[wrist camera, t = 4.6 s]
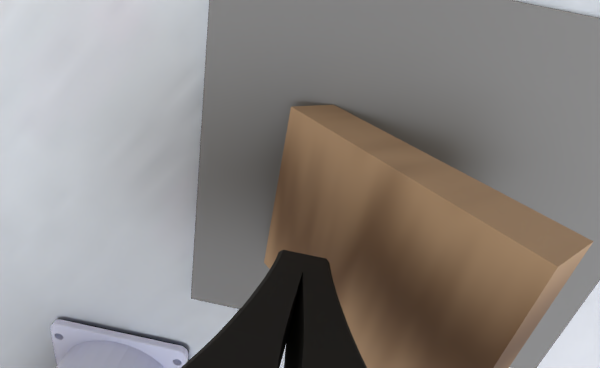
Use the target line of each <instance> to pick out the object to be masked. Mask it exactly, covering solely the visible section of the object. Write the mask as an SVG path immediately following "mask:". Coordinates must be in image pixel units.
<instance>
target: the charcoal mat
mask: <svg viewBox="0 0 600 368" xmlns="http://www.w3.org/2000/svg"><path fill="white" fill-rule="evenodd" d="M314 105H335V106H337V107H339V108H341V109H343V110H345V111H347V112H349V113H351V114H353V115H354V116H356V117H358V118H360V119H362V120H364V121H366V122H368V123H370V124H372V125H373V126H375V127H377V128H379V129H381V130H383V131H385V132H387V133H389V134H391V135H392V136H394V137H396V138H398V139H400V140H402V141H404V142H406V143H408V144H409V145H411V146H413V147H415V148H417V149H419V150H421V151H423V152H425V153H427V154H428V155H430V156H432V157H434V158H436V159H438V160H440V161H442V162H444V163H446V164H447V165H449V166H451V167H453V168H455V169H457V170H459V171H461V172H463V173H465V174H466V175H468V176H470V177H472V178H474V179H476V180H478V181H480V182H482V183H484V184H485V185H487V186H489V187H491V188H493V189H495V190H497V191H499V192H501V193H503V194H504V195H506V196H508V197H510V198H512V199H514V200H516V201H518V202H520V203H522V204H523V205H525V206H527V207H529V208H531V209H533V210H535V211H537V212H539V213H541V214H542V215H544V216H546V217H548V218H550V219H552V220H554V221H556V222H558V223H559V224H561V225H563V226H565V227H567V228H569V229H571V230H573V231H575V232H577V233H578V234H580V235H582V236H584V237H586V238H588V239H590V240H592V241H594V242H593V243H592V244H591V246H590V247H589V249H588V250H587V252H586V253H585V255H584V256H583V258H582V259H581V261H580V262H579V264H578V265H577V267H576V268H575V270H574V271H573V273H572V274H571V276H570V277H569V279H568V280H567V282H566V283H565V285H564V286H563V288H562V289H561V291H560V292H559V294H558V295H557V297H556V298H555V300H554V301H553V303H552V304H551V306H550V307H549V309H548V310H547V311H546V313H545V314H544V316H543V317H542V319H541V320H540V322H539V323H538V325H537V326H536V328H535V329H534V331H533V332H532V334H531V335H530V337H529V338H528V340H527V341H526V343H525V344H524V346H523V347H522V349H521V350H520V352H519V353H518V355H517V356H516V358H515V359H514V361H513V362H512V364H511V365H510V368H537V366H538V365H539V363H540V362H541V361H542V359H543V358H544V356H545V355H546V354H547V352H548V351H549V350H550V348H551V347H552V345H553V344H554V343H555V341H556V340H557V338H558V337H559V336H560V334H561V333H562V332H563V330H564V329H565V327H566V326H567V325H568V323H569V322H570V321H571V319H572V318H573V316H574V315H575V314H576V312H577V311H578V309H579V308H580V307H581V305H582V304H583V303H584V301H585V300H586V298H587V297H588V296H589V294H590V293H591V292H592V290H593V289H594V287H595V286H596V285H597V283H598V282H599V280H600V18H596V17H591V16H586V15H581V14H576V13H571V12H566V11H562V10H557V9H552V8H547V7H542V6H537V5H532V4H527V3H522V2H518V1H513V0H209V13H208V29H207V45H206V61H205V78H204V94H203V110H202V126H201V142H200V158H199V174H198V191H197V207H196V223H195V239H194V255H193V271H192V288H191V299H196V300H200V301H205V302H209V303H214V304H219V305H223V306H228V307H233V308H237V309H240V308H241V307H242V306H243V305H244V304H245V303H246V301H247V300H248V299H249V298H250V296H251V295H252V294H253V292H254V291H255V290H256V288H257V287H258V286H259V284H260V283H261V282H262V280H263V279H264V277H265V276H266V274H267V273H268V271H269V270H270V269H269V268H268V267H267V265H266V264H265V263H264V259H265V254H266V248H267V242H268V236H269V230H270V225H271V219H272V213H273V207H274V202H275V196H276V190H277V184H278V179H279V173H280V167H281V161H282V156H283V150H284V144H285V138H286V133H287V127H288V121H289V115H290V110H291V107H292V106H314Z"/></svg>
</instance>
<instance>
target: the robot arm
mask: <svg viewBox="0 0 600 368" xmlns="http://www.w3.org/2000/svg"><path fill="white" fill-rule="evenodd" d="M50 330H51V336H52V341H53V347H54V352H55V358H56V363H57V367H56V368H279V367H280V363H281V359H282V356H283V352H284V349H285V345H286V352H285V364H284V368H367V367H366V365H365V363H364V360H363V358H362V356H361V354H360V352H359V350H358V347H357V345H356V343H355V341H354V338H353V336H352V334H351V331H350V329H349V326H348V324H347V321H346V318H345V315H344V313H343V310H342V307H341V305H340V302H339V299H338V295H337V292H336V289H335V285H334V282H333V278H332V274H331V269H330V263H329V261H328V260H327V259H326V258H321V257H316V256H312V255H307V254H302V253H297V252H293V251H288V250H281V251H280V252H278V255H277V257H276V259H275V261H274V263H273V265H272V267H271V268H270V270H269V271H268V273H267V274H266V276H265V277H264V279H263V280H262V282H261V283H260V284H259V286H258V287H257V288H256V290H255V291H254V292H253V294H252V295H251V296H250V298H249V299H248V300H247V301H246V303H245V304H244V305H243V306H242V307H241V308H240V310H239V311H238V312H237V313H236V314H235V315H234V316H233V318H232V319H231V320H230V321H229V322H228V323H227V324H226V325H225V326H224V327H223V329H222V330H221V331H220V332H219V333H218V334H217V335H216V336H215V337H214V338H213V339H212V340H211V341H210V342H209V343H208V344H207V345H205V346H204V347H203V348H202V349H201V350H200V351H199V352H198V353H197V354H196V355H195V356H194V357H192V358H191V359H190V360H189V361H188V351H187V349H186V348H185V347H183V346H180V345H176V344H171V343H166V342H162V341H157V340H153V339H148V338H143V337H139V336H134V335H130V334H125V333H120V332H116V331H111V330H107V329H102V328H97V327H93V326H88V325H84V324H79V323H74V322H70V321H65V320H55V321H54V322H53V323H52V325H51V326H50Z"/></svg>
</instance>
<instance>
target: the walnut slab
mask: <svg viewBox="0 0 600 368" xmlns="http://www.w3.org/2000/svg"><path fill="white" fill-rule="evenodd" d="M593 242H594V241H592V240H590V239H588V238H586V237H584V236H582V235H580V234H578V233H577V232H575V231H573V230H571V229H569V228H567V227H565V226H563V225H561V224H559V223H558V222H556V221H554V220H552V219H550V218H548V217H546V216H544V215H542V214H541V213H539V212H537V211H535V210H533V209H531V208H529V207H527V206H525V205H523V204H522V203H520V202H518V201H516V200H514V199H512V198H510V197H508V196H506V195H504V194H503V193H501V192H499V191H497V190H495V189H493V188H491V187H489V186H487V185H485V184H484V183H482V182H480V181H478V180H476V179H474V178H472V177H470V176H468V175H466V174H465V173H463V172H461V171H459V170H457V169H455V168H453V167H451V166H449V165H447V164H446V163H444V162H442V161H440V160H438V159H436V158H434V157H432V156H430V155H428V154H427V153H425V152H423V151H421V150H419V149H417V148H415V147H413V146H411V145H409V144H408V143H406V142H404V141H402V140H400V139H398V138H396V137H394V136H392V135H391V134H389V133H387V132H385V131H383V130H381V129H379V128H377V127H375V126H373V125H372V124H370V123H368V122H366V121H364V120H362V119H360V118H358V117H356V116H354V115H353V114H351V113H349V112H347V111H345V110H343V109H341V108H339V107H337V106H335V105H314V106H292V107H291V110H290V115H289V121H288V127H287V133H286V138H285V144H284V150H283V156H282V161H281V167H280V173H279V179H278V184H277V190H276V196H275V202H274V207H273V213H272V219H271V225H270V230H269V236H268V242H267V248H266V254H265V259H264V263H265V264H266V265H267V267H268V268H269V269H270V268H271V267H272V265H273V263H274V261H275V259H276V257H277V255H278V252H280V251H281V250H288V251H293V252H297V253H302V254H307V255H312V256H316V257H321V258H326V259H327V260H328V261H329V263H330V269H331V274H332V278H333V282H334V285H335V289H336V292H337V295H338V299H339V302H340V305H341V307H342V310H343V313H344V315H345V318H346V321H347V324H348V326H349V329H350V331H351V334H352V336H353V338H354V341H355V343H356V345H357V347H358V350H359V352H360V354H361V356H362V358H363V360H364V363H365V365H366V367H367V368H509V367H510V365H511V364H512V362H513V361H514V359H515V358H516V356H517V355H518V353H519V352H520V350H521V349H522V347H523V346H524V344H525V343H526V341H527V340H528V338H529V337H530V335H531V334H532V332H533V331H534V329H535V328H536V326H537V325H538V323H539V322H540V320H541V319H542V317H543V316H544V314H545V313H546V311H547V310H548V309H549V307H550V306H551V304H552V303H553V301H554V300H555V298H556V297H557V295H558V294H559V292H560V291H561V289H562V288H563V286H564V285H565V283H566V282H567V280H568V279H569V277H570V276H571V274H572V273H573V271H574V270H575V268H576V267H577V265H578V264H579V262H580V261H581V259H582V258H583V256H584V255H585V253H586V252H587V250H588V249H589V247H590V246H591V244H592V243H593Z"/></svg>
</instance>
